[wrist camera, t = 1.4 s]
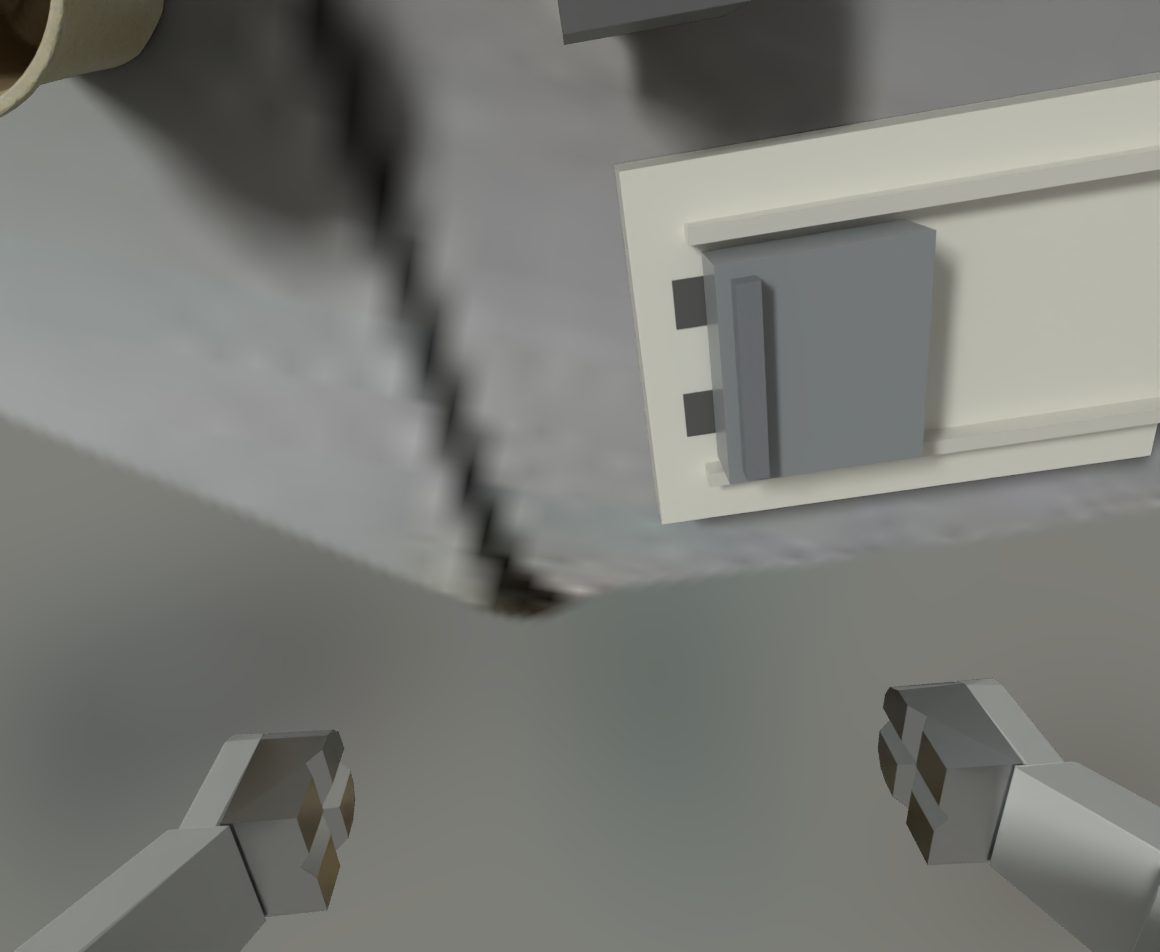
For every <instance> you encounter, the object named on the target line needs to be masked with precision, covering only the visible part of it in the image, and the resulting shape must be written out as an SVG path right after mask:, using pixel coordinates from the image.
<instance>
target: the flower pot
mask: <svg viewBox="0 0 1160 952" xmlns="http://www.w3.org/2000/svg"><path fill="white" fill-rule="evenodd" d="M163 3H164V0H0V117H2V116H4V115H6V114H7V113H9V112H11V111H12V110H14V109H16V108H17V107H18V106H19V105H21V104H22V103H23V102H24V101H25V100H27V99H28V98H29V97H30V96H31V95H32V94H33V93H34V91H35V90H36V89H37V88H38V87H39V85H42V84H45V83H49V82H53V81H57V80H61V79H65V78H69V77H73V76H77V75H82V74H86V73H90V72H94V71H99V70H106V69H111V68H114V67H117V66H120V65H122V64H125V63H127V62H129V61H130V60H132V59H133V58H135V57H136V56H137V55H138V54H140V52H141V51H142V50H143V48H144V47H145V45H146V43H147V42H148V40H149V39H150V37H151V35H152V33H153V31H154V29H155V28H156V26H157V23H158V21H159V19H160V17H161V14H162V11H163Z"/></svg>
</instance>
